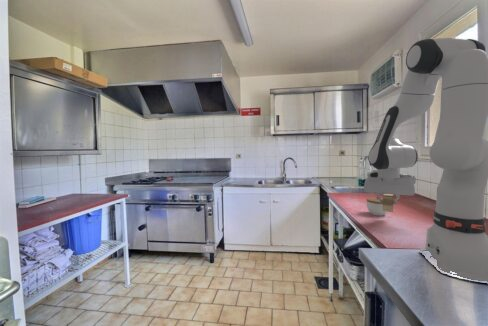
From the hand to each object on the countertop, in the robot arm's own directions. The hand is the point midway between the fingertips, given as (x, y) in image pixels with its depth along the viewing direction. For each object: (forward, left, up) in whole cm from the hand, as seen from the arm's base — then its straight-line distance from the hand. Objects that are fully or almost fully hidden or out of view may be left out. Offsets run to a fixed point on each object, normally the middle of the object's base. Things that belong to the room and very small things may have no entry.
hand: (387, 203), depth 113 cm
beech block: (0, 0, -2) cm, 2 cm away
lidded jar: (+13, +4, -9) cm, 16 cm away
